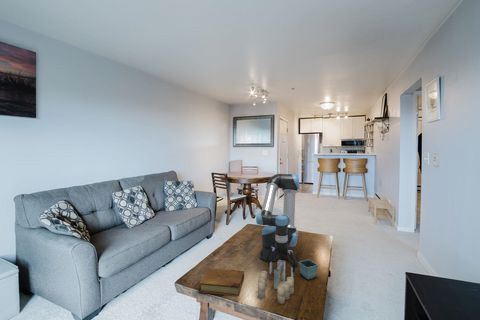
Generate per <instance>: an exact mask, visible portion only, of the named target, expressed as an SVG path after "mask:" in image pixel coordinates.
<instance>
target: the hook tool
mask: <svg viewBox="0 0 480 320" xmlns="http://www.w3.org/2000/svg"><path fill="white" fill-rule="evenodd" d="M276 263H277V265H276V266H277V267H276V268H274V269H273V289H274V290H277V286H278V285H280V280H281V281H282V282H284V281H286V260H285V259H284V260H282V259H279V260H277V261H276Z"/></svg>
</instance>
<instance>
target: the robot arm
mask: <svg viewBox="0 0 480 320" xmlns="http://www.w3.org/2000/svg"><path fill="white" fill-rule="evenodd" d="M265 188H266V191H265V195H264V199H263V204H262V208H261V211H260V213H257V214H256V217H255V218H256V220H255V222H256V224H257V225H259V226H264V227H263V228H262V229H261V248H260V251H259V259H261V260H262V261H265V262H267V265H268V268H269V274H272V273H273V262H278V260H280V257H283V258H285V259H286V260H287V262H288V263H289V264H290V266H291V267H290V277H293V278H294V273H295V272H296V268H298V267H299V262H298V261H297V259H296V257H295V254H294V250H293V249H289V247H292V248H294V247H296V245H297V242H298V238H299V231H298V230H297V227H296V226H295V220H296V219H295V217H296V216H295V215H296V214H295V213H296V211H295V210H296V194H297V193H298V190H300V178H299V175H297V174H295V173H294V174H293V173H276V174H274V175H273V176H271V177H270V178H269V179H268V181H267V183H266V185H265ZM279 189H281V191H282V193H283V208H282V209H283V212H282V214H281V215H278V214H273V210H274V207H275V200H276V195H277V192H278V190H279ZM288 253H289V254H288ZM289 255H290V256H289Z"/></svg>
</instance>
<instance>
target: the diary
mask: <svg viewBox="0 0 480 320" xmlns="http://www.w3.org/2000/svg"><path fill="white" fill-rule="evenodd" d="M244 280H245V271H244V270H233V269H222V268H221V269H220V268H207V270H206V271H205V274H204V275H203V276H202V277H201V279H200V282H198V283H199V285H200V289H199V294H200V293H201V294H208V295H209V294H210V295H222V296H236V297H240V294H241V290H242V287H243V285H244V284H243V283H244Z"/></svg>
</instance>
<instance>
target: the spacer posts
mask: <svg viewBox="0 0 480 320" xmlns="http://www.w3.org/2000/svg"><path fill="white" fill-rule="evenodd" d="M259 275H260V276H258V277H257V280H258V281H257V297H258V298H259V299H265V298H266V288H267V286H268V272H267V271H266V270H261V271H260V274H259ZM276 290H277V292H276V293H277V296H276V297H277V299H276V300H277V303H278V304H280V305H284V304H285V303H286V301H289V300H290V299H291V297H290V296H292V295H294V294H295V278H294V276H293V277H291V276H287V277H286V280H285V281H284V282H282V285H278V286H277V289H276Z"/></svg>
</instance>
